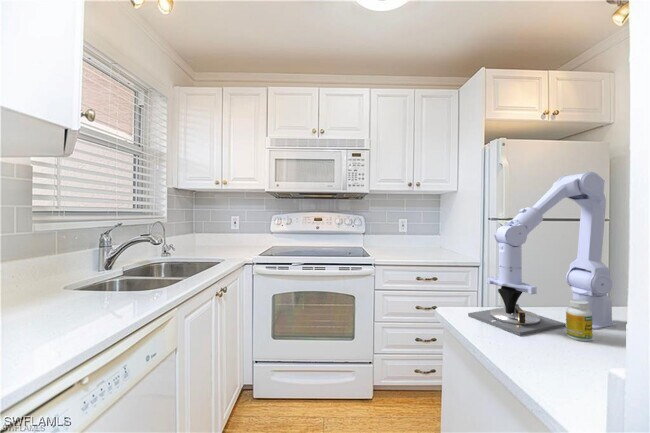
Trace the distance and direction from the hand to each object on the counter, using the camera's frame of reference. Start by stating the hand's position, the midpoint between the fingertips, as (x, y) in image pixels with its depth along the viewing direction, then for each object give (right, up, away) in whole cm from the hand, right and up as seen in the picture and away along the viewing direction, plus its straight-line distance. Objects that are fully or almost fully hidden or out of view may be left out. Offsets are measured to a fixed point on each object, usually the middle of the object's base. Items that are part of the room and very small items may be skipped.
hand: (510, 313), depth 93 cm
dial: (+3, -2, +3) cm, 5 cm away
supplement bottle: (+12, -4, -10) cm, 16 cm away
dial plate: (+3, -4, +3) cm, 6 cm away
